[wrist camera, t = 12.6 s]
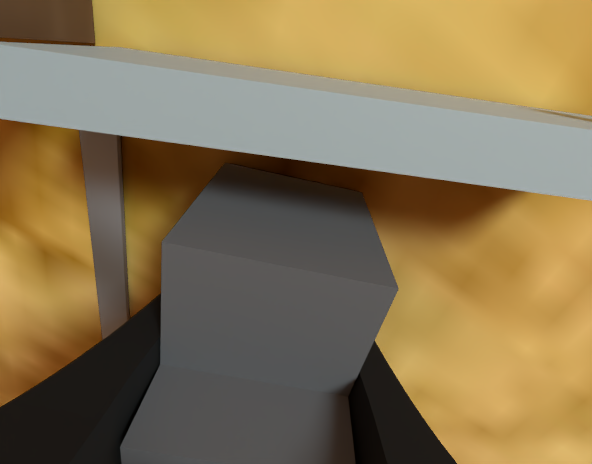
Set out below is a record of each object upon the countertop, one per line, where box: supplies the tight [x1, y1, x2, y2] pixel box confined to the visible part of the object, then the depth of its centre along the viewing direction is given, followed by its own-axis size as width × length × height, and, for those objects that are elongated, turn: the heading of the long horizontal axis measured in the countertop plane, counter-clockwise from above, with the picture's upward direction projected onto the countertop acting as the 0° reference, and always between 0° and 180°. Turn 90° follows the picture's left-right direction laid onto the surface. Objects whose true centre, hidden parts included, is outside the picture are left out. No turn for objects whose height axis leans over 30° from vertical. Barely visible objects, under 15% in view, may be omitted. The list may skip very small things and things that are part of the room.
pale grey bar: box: [0, 42, 592, 201], centre depth 6 cm, size 12×2×4 cm, turn 83°
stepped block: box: [120, 163, 398, 464], centre depth 8 cm, size 7×4×6 cm, turn 168°
